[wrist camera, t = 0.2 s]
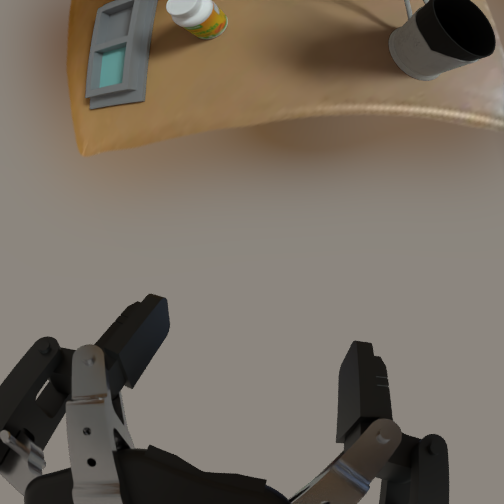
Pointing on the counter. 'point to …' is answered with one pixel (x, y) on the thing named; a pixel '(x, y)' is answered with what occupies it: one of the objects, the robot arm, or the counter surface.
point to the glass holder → (441, 38)
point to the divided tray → (120, 53)
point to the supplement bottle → (198, 17)
